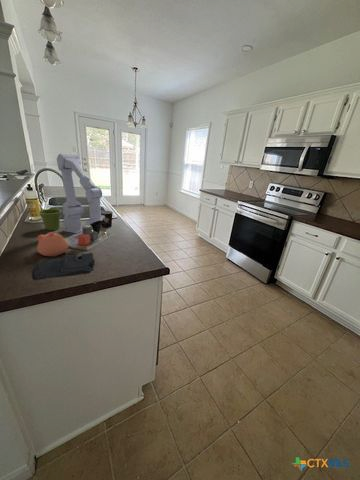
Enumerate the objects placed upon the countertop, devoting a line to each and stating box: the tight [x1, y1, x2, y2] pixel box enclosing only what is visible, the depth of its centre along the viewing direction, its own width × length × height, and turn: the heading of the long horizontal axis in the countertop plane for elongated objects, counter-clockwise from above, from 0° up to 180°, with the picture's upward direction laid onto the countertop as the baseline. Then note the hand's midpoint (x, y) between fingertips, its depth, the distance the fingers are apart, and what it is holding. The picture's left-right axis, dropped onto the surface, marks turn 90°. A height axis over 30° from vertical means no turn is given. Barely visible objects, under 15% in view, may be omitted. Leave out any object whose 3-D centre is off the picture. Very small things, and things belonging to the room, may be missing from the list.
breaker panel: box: [64, 229, 114, 252], centre depth 113 cm, size 18×24×2 cm
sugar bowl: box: [37, 231, 69, 257], centre depth 94 cm, size 12×14×10 cm
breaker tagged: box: [88, 231, 98, 240], centre depth 111 cm, size 3×4×4 cm
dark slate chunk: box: [33, 252, 96, 281], centre depth 84 cm, size 15×22×5 cm
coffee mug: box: [101, 210, 113, 229], centre depth 137 cm, size 12×9×10 cm
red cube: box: [78, 234, 90, 245], centre depth 104 cm, size 4×4×4 cm
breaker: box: [81, 225, 92, 234], centre depth 119 cm, size 3×4×4 cm
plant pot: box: [37, 208, 62, 231], centre depth 124 cm, size 12×12×11 cm
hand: (96, 234), depth 114 cm, fingers closed
